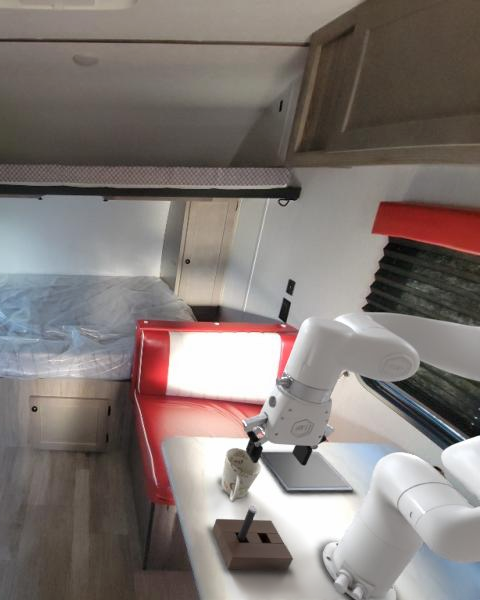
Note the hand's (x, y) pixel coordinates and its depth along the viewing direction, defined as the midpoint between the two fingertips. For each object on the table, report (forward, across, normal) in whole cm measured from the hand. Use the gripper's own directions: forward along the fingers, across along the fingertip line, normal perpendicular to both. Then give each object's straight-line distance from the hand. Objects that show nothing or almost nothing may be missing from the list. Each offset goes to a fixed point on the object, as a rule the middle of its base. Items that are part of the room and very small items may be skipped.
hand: (274, 458), depth 65 cm
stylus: (+27, 0, 0) cm, 27 cm away
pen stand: (+27, +3, 0) cm, 27 cm away
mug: (+28, +6, +14) cm, 31 cm away
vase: (+28, +64, +17) cm, 72 cm away
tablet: (+27, +31, +22) cm, 47 cm away
